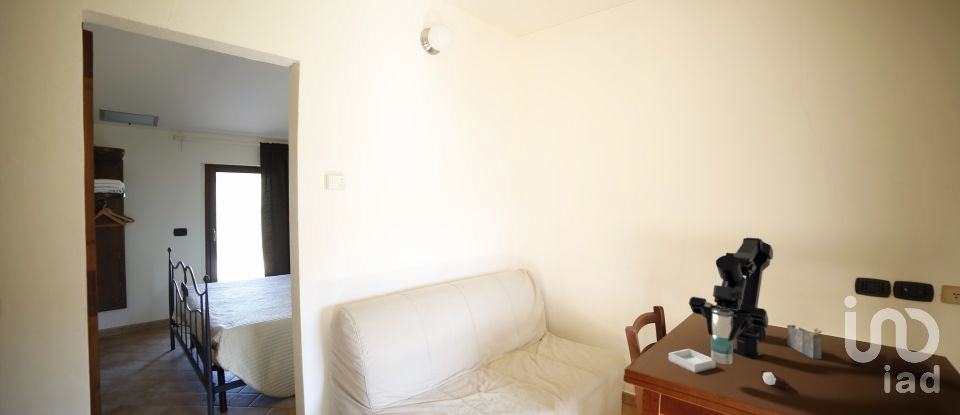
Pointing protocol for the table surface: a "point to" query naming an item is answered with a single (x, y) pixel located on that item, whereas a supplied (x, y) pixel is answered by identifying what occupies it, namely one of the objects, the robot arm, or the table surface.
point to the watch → (774, 380)
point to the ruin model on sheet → (805, 341)
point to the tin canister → (722, 335)
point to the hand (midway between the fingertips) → (720, 336)
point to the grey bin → (692, 360)
